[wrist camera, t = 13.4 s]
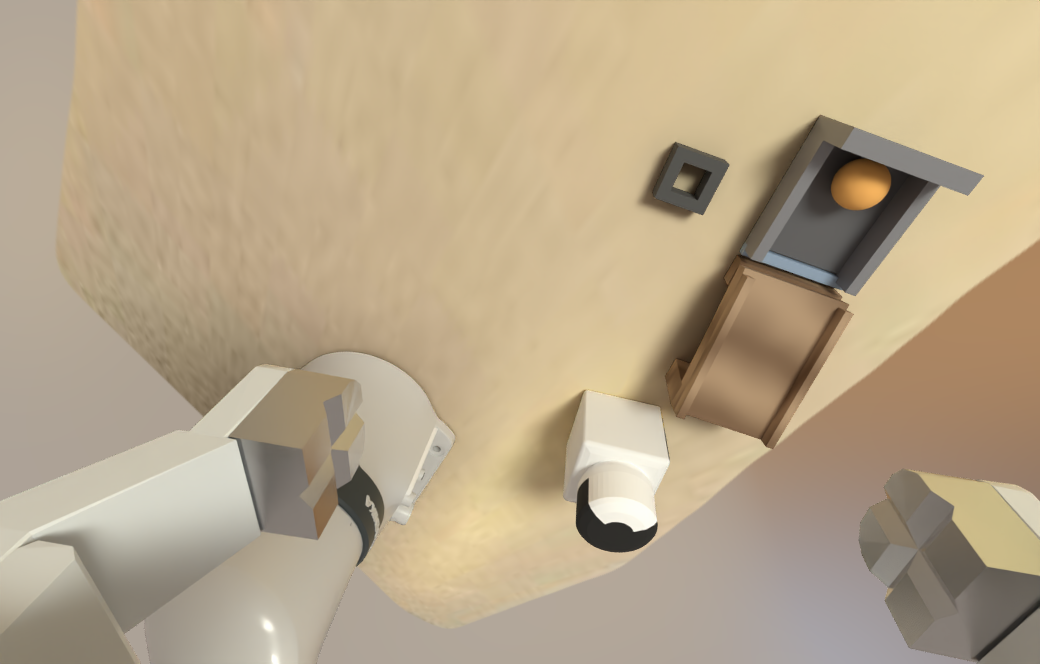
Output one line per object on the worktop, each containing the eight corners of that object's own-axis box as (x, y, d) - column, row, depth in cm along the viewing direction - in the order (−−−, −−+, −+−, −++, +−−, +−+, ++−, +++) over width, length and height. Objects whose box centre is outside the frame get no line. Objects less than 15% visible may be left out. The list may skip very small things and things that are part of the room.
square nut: (699, 208, 36) (702, 215, 35) (652, 192, 36) (654, 198, 35) (724, 159, 34) (729, 164, 33) (675, 142, 34) (678, 146, 33)
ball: (850, 167, 34) (830, 212, 35) (837, 148, 32) (816, 196, 33) (904, 172, 32) (882, 220, 33) (895, 152, 30) (871, 204, 30)
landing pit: (838, 286, 38) (868, 318, 34) (739, 251, 37) (757, 279, 33) (933, 156, 33) (984, 175, 28) (820, 114, 32) (854, 127, 28)
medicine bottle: (637, 460, 49) (648, 572, 39) (566, 443, 49) (558, 551, 39) (661, 405, 46) (680, 513, 35) (584, 387, 46) (581, 490, 35)
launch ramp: (750, 405, 44) (769, 452, 39) (665, 376, 44) (674, 420, 39) (835, 289, 38) (871, 328, 33) (737, 254, 38) (759, 289, 33)
